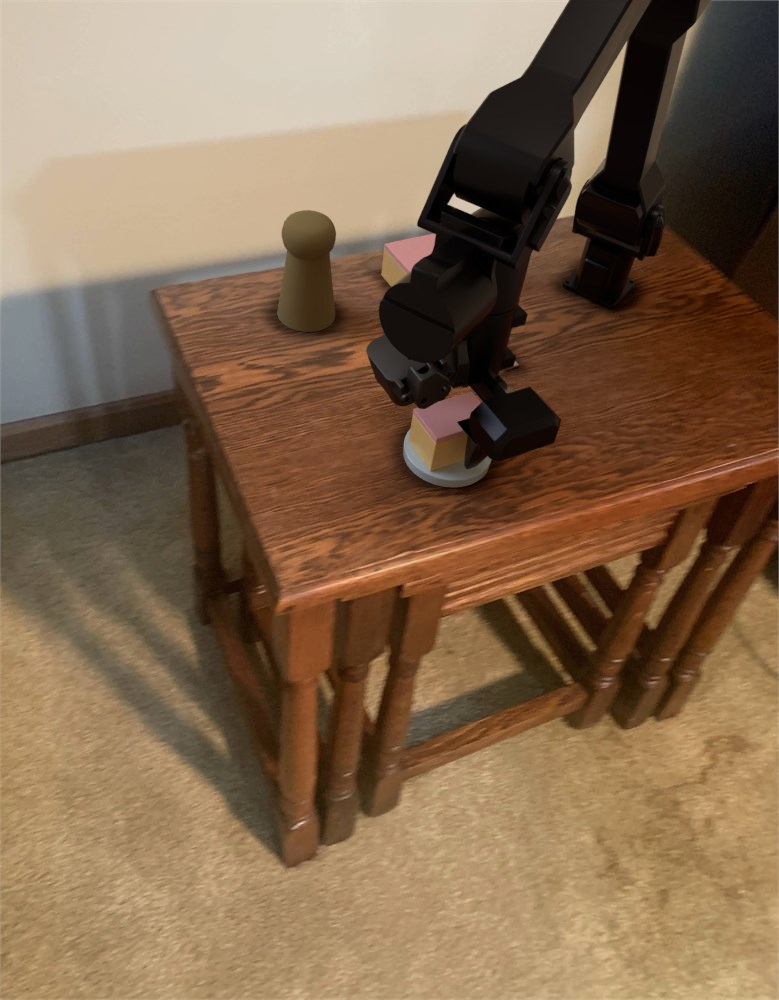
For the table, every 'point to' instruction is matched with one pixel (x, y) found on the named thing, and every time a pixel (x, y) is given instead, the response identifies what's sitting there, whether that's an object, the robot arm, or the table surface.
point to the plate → (444, 469)
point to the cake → (405, 256)
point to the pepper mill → (307, 272)
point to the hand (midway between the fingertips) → (449, 440)
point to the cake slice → (442, 430)
